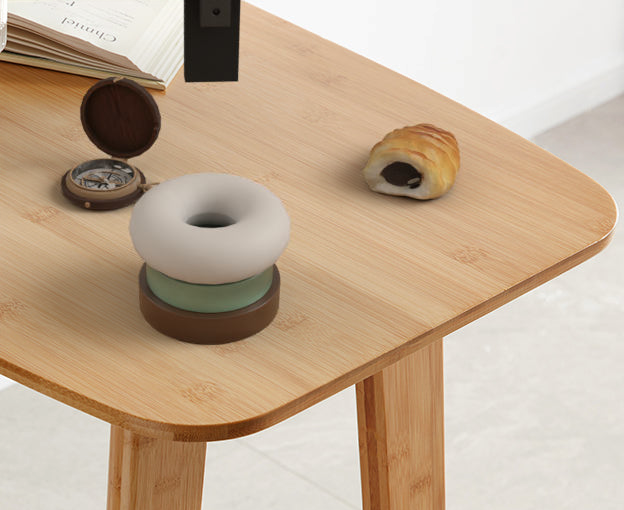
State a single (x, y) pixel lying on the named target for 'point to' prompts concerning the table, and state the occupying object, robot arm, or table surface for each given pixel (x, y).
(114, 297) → the table surface
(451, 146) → the pastry
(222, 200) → the donut
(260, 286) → the ring stack
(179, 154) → the table surface
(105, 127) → the compass
